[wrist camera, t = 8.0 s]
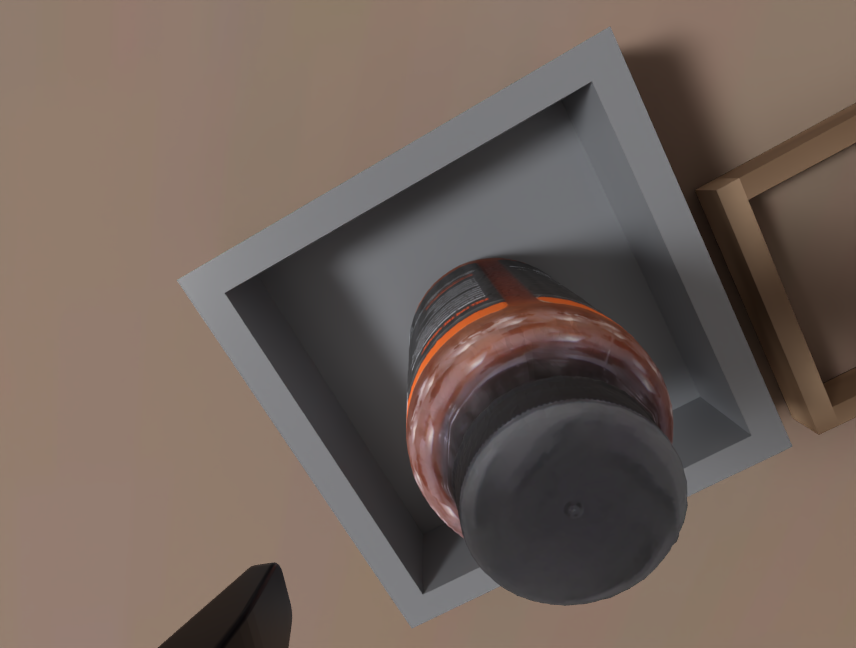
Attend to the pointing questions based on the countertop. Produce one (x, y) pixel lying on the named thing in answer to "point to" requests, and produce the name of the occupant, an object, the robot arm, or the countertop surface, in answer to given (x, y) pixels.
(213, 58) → the countertop surface
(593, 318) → the supplement bottle
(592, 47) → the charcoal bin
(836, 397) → the tan wooden square frame
